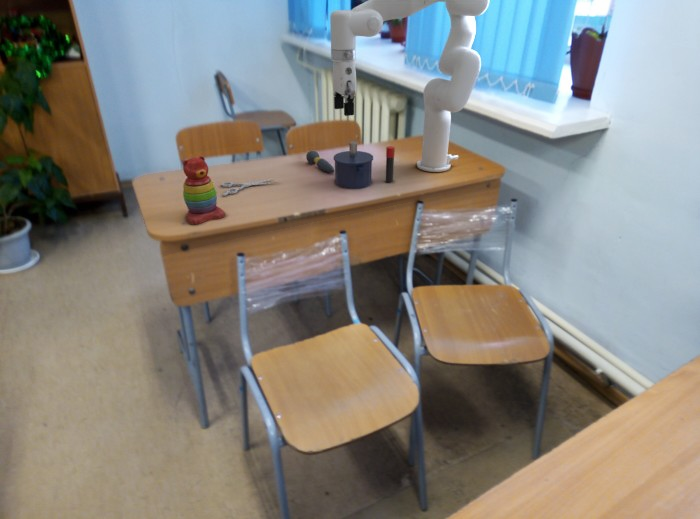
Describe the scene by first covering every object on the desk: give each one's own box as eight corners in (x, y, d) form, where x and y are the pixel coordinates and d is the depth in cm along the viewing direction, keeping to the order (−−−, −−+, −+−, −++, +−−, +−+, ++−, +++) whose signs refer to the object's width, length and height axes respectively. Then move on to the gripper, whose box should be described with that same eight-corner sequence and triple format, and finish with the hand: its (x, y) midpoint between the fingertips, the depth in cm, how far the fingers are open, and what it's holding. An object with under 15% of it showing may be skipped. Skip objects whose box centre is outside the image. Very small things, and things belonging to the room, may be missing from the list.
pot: (360, 171, 177) (360, 149, 173) (380, 188, 163) (380, 164, 158) (328, 175, 173) (327, 153, 169) (345, 193, 159) (344, 169, 155)
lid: (364, 152, 172) (364, 135, 168) (379, 164, 161) (379, 145, 157) (328, 156, 168) (327, 139, 164) (341, 168, 156) (340, 150, 153)
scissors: (216, 183, 165) (272, 174, 172) (216, 185, 165) (272, 176, 173) (223, 194, 157) (281, 184, 164) (223, 196, 157) (281, 186, 164)
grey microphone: (341, 172, 176) (341, 159, 174) (330, 175, 174) (330, 162, 171) (311, 159, 190) (311, 147, 187) (301, 162, 187) (300, 149, 185)
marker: (391, 179, 170) (392, 145, 164) (394, 182, 168) (396, 148, 161) (384, 180, 169) (385, 146, 163) (387, 183, 167) (388, 149, 161)
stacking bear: (192, 226, 138) (180, 166, 129) (180, 214, 145) (169, 157, 136) (227, 217, 143) (219, 159, 134) (214, 205, 151) (206, 150, 142)
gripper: (365, 58, 141) (364, 117, 150) (345, 51, 155) (345, 105, 164) (341, 59, 139) (341, 119, 148) (323, 52, 153) (324, 107, 162)
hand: (343, 111), depth 156 cm, fingers open, 9 cm apart
